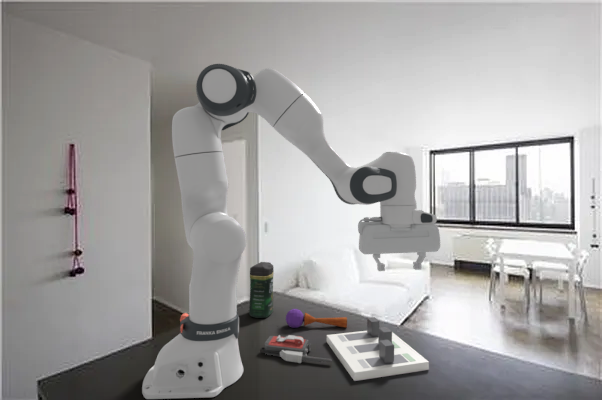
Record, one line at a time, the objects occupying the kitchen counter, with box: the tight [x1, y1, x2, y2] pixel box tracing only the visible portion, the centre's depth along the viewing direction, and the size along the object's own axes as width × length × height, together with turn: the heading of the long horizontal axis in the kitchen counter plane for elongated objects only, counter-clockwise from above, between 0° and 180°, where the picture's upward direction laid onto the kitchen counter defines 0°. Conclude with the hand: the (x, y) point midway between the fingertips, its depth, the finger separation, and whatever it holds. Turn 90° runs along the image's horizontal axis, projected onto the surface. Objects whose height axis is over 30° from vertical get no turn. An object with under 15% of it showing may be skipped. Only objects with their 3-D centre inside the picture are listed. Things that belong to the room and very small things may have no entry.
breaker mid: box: [378, 326, 393, 343], centre depth 86 cm, size 2×3×4 cm
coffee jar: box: [248, 261, 275, 319], centre depth 113 cm, size 10×8×19 cm
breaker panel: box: [326, 330, 430, 382], centre depth 85 cm, size 20×20×2 cm
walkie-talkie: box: [259, 334, 333, 364], centre depth 85 cm, size 9×4×20 cm
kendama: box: [285, 308, 348, 329], centre depth 103 cm, size 6×6×20 cm
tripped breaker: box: [379, 340, 394, 363], centre depth 78 cm, size 2×3×4 cm
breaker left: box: [366, 316, 380, 336], centre depth 93 cm, size 2×3×4 cm
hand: (399, 269), depth 80 cm, fingers open, 8 cm apart
